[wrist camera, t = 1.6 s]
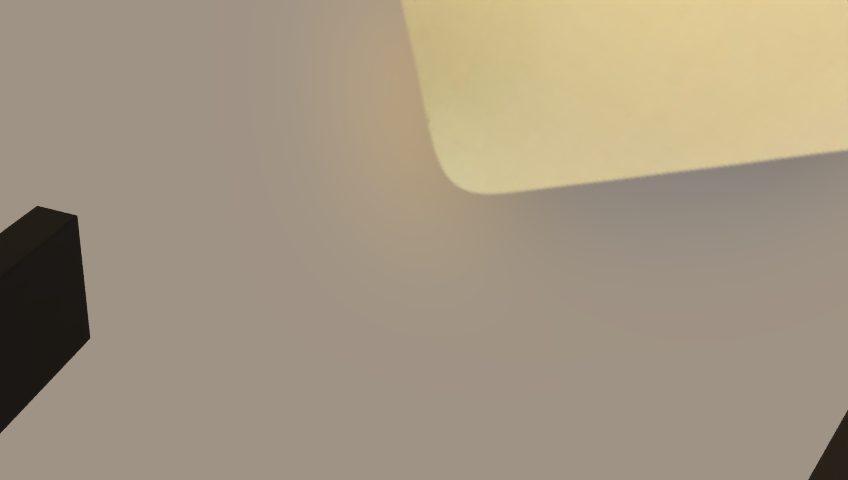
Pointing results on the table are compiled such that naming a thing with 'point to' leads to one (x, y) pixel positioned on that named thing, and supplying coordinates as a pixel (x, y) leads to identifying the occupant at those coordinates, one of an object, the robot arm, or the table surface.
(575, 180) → the table surface
